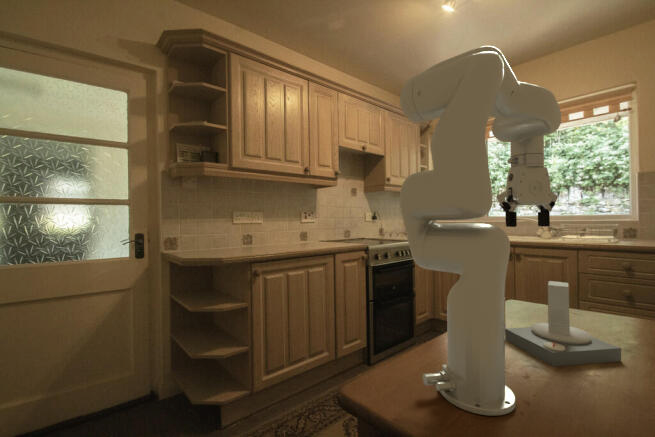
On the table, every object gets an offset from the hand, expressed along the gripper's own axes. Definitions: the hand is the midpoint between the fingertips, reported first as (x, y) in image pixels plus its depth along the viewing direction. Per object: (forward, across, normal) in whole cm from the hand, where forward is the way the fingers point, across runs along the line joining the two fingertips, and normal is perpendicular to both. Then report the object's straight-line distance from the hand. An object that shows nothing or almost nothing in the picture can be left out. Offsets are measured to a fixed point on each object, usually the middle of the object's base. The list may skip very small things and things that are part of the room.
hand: (527, 226), depth 82 cm
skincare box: (+26, +4, -6) cm, 27 cm away
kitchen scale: (+30, +2, -7) cm, 31 cm away
